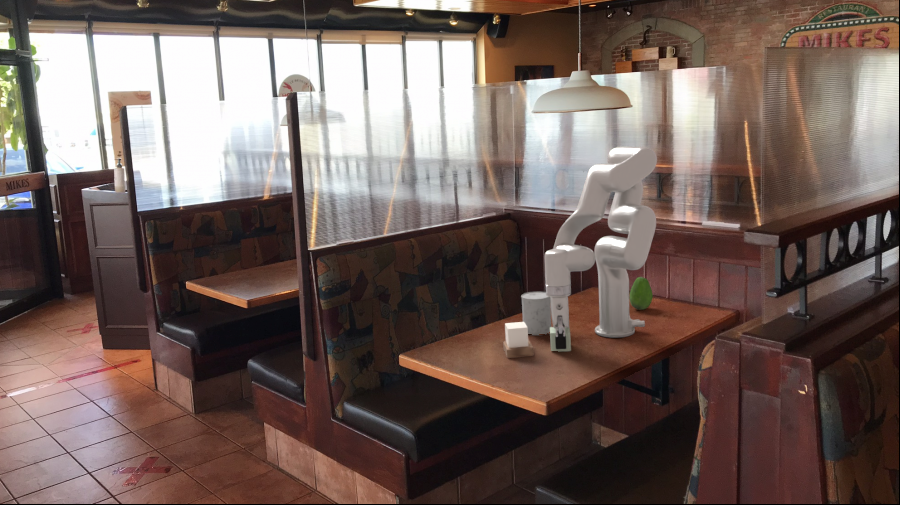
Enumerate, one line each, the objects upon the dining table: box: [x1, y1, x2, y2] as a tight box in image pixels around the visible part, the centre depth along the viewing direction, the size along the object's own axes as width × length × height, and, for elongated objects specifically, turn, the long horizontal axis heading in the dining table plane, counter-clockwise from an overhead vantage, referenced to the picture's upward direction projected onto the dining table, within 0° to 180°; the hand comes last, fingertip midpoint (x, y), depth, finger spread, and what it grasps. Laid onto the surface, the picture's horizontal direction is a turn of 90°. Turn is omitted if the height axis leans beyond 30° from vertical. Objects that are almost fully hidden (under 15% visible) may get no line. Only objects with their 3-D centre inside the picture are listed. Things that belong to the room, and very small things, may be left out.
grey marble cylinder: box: [520, 291, 552, 336], centre depth 242 cm, size 10×10×12 cm
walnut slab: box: [502, 338, 534, 359], centre depth 223 cm, size 8×8×3 cm
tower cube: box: [504, 321, 529, 348], centre depth 223 cm, size 6×6×6 cm
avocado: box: [629, 276, 654, 311], centre depth 258 cm, size 8×8×12 cm
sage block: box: [549, 326, 572, 352], centre depth 224 cm, size 6×6×6 cm
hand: (560, 343), depth 224 cm, fingers open, 9 cm apart
